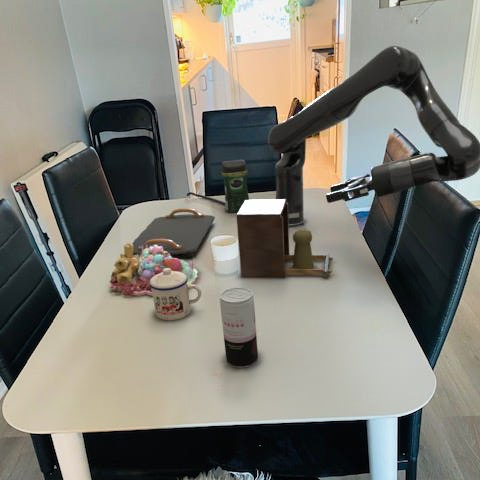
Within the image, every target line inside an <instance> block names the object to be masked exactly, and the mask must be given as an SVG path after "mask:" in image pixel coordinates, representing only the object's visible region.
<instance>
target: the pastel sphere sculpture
mask: <svg viewBox="0 0 480 480" xmlns="http://www.w3.org/2000/svg"><path fill="white" fill-rule="evenodd" d="M123 251H124V253H121V254H119V258H118V259H117V260H116V261H115V262H114V265H113V266H114V267H115V268H114V269H113V271H111V272H112V273H111V275H110V280H109V283H110V285H109V288H110V290H114V291H113V294H114V293H118V292H119V291H122V293H121V296H133V295H134V296H143V295H148V296H151V297H153V294H152V289H151V287H150V280H151V279H152V277H154V276H155V275H157V274H160V273H162V272H163V269H164V268H170V269H171V271H177V272H181V273H184V274H185V275H186V277H187V279H188V281H187V284H194V285H195V283H196V281H197V280H198V279H199V276H198V275H199V271H198V270H197V269H196V268H195V267H194V263H193V261H192V262H191V261H190V262H189V264H188V263H187V262H186V261H185V260H184V259H179V258H177V257H173V256H172V255H170V254H169V253H168V252H167V251H164V250H163V247H162V246H159V247H158V246H157V245H153V246H151V245H150V247H149V248H147V244H146V249H144V250H143V245H142V254H140V255H138V254H137V255H133V251H134V249H133V244H132V243H126V244H124V245H123ZM189 289H190V288H188V290H189Z"/></svg>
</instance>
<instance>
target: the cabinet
mask: <svg viewBox="0 0 480 480" xmlns="http://www.w3.org/2000/svg"><path fill="white" fill-rule="evenodd" d="M235 216H236V227H237V228H236V229H237V239H238V251H239V252H238V253H239V263H240V273H241V274H240V276H241V278H243V279H245V278H246V279H247V278H250V279H252V278H253V279H254V278H257V279H258V278H259V279H285V278H286V275H285V269H286V267H285V265H286V262H285V263H284V255H291V254H290V226H289V221H288V203H286V199H276V198H272V199H270V198H269V199H249V200H245V202H244V203H243V205H242V206H241V208H240V210H239V211H238V212H236V215H235Z"/></svg>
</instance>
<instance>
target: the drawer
mask: <svg viewBox="0 0 480 480" xmlns="http://www.w3.org/2000/svg"><path fill="white" fill-rule="evenodd" d="M293 258H294V254H290V255H284V263H285V264H286V262H293ZM312 258H313V262H325V264H324V268H314V269H292V268H285V276H324V278H328V275H329V274H332V269H329V265H330V261H333V260H334V259H333V256H330V252H327V253H325V254H312Z"/></svg>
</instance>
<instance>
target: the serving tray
mask: <svg viewBox="0 0 480 480" xmlns="http://www.w3.org/2000/svg"><path fill="white" fill-rule="evenodd" d="M179 213H184V214H179ZM185 213H187V214H185ZM188 213H189V214H188ZM215 219H216V216H214V215H210V214H209V215H208V214H203V213H200V212H198V211H197V210H195V209H194V208H190V207H189V208H187V207H182V208H181V207H180V208H176V209H174V210H172V211H171V213H169V214H167V215H165V216H159V217H155V218H154V219H153V220H152V221H151V222H150V223H149V224H148V225H146V228H145V229H144V230H143V231H141V232H140V234H139V235H138V236H137V237H136V238H135V239H134V241H133V242H131V244H133V249H134V251H133V255H137V254H138V256H140V254H142V245H143V250H144V249H146V244H147V248H149V247H150V245H151V246H153V245H157V246H158V247H159V246H162V247H163V250H164V251H167V252H168V253H169V254H170V256H174V255H183V254H185V256H186V258H187V259H192V258H193V257H194V256H193V255H194V254H193V252H196V251H197V250H198V248H199V246H200V245H201V243H202V241H203V240H204V238H205V237H206V234H207V233H208V232H209V229H210V227H211V226H212V225H213V223H214V221H215Z"/></svg>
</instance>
